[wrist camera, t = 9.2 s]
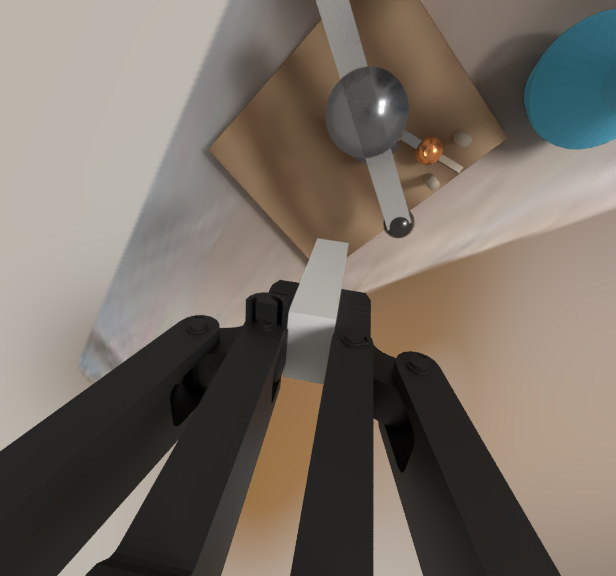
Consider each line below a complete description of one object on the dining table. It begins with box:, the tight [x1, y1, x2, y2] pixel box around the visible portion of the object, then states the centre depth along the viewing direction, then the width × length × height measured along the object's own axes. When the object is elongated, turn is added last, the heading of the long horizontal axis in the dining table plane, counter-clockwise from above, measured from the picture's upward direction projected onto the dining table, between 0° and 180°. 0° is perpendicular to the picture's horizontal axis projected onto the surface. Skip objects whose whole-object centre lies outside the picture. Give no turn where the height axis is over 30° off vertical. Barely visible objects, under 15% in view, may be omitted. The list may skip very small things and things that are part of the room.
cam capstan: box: [316, 0, 443, 238], centre depth 28 cm, size 21×8×7 cm, turn 22°
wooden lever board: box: [208, 0, 507, 259], centre depth 33 cm, size 22×18×5 cm
